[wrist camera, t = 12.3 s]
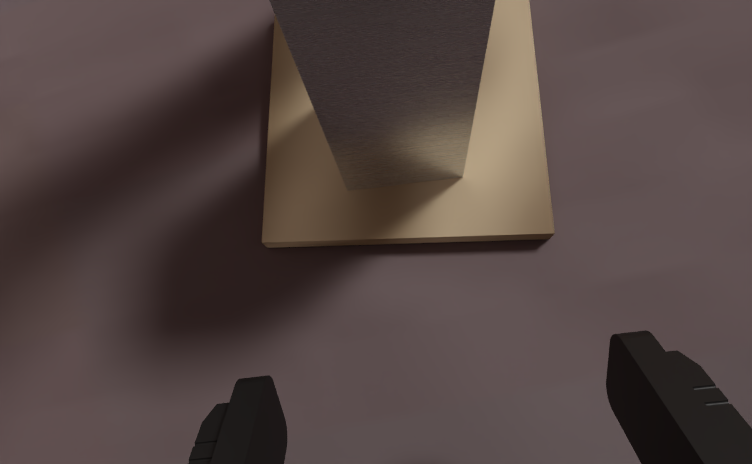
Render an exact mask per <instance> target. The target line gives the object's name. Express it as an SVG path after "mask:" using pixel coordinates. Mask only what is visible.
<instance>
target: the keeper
mask: <svg viewBox="0 0 752 464" xmlns="http://www.w3.org/2000/svg"><path fill="white" fill-rule="evenodd" d="M553 235H554V224H553V215H552V205H551V196H550V187H549V178H548V169H547V160H546V151H545V141H544V132H543V123H542V114H541V105H540V96H539V86H538V77H537V68H536V59H535V50H534V41H533V31H532V22H531V13H530V4H529V0H495V5H494V11H493V16H492V21H491V27H490V32H489V38H488V43H487V49H486V54H485V60H484V65H483V71H482V76H481V82H480V87H479V92H478V98H477V103H476V109H475V114H474V120H473V125H472V131H471V136H470V142H469V147H468V153H467V158H466V164H465V169H464V174H463V177H462V178H453V179H444V180H436V181H427V182H419V183H410V184H401V185H393V186H384V187H376V188H367V189H358V190H350V191H347V188H346V186H345V184H344V181H343V179H342V176H341V174H340V171H339V169H338V166H337V164H336V162H335V159H334V157H333V154H332V152H331V149H330V147H329V144H328V142H327V140H326V137H325V135H324V132H323V130H322V127H321V125H320V123H319V120H318V118H317V115H316V113H315V110H314V108H313V105H312V103H311V101H310V98H309V96H308V93H307V91H306V88H305V86H304V84H303V81H302V79H301V76H300V74H299V71H298V69H297V66H296V64H295V62H294V59H293V57H292V54H291V52H290V49H289V47H288V45H287V42H286V40H285V37H284V35H283V32H282V30H281V27H280V25H279V23H278V20H277V18H276V15H275V21H274V38H273V56H272V73H271V90H270V108H269V125H268V142H267V160H266V177H265V194H264V212H263V229H262V243H263V244H264V245H265V246H266V247H268V248H276V247H309V246H342V245H374V244H407V243H439V242H472V241H504V240H537V239H550V238H551V237H552V236H553Z"/></svg>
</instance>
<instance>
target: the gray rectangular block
mask: <svg viewBox="0 0 752 464" xmlns="http://www.w3.org/2000/svg"><path fill="white" fill-rule="evenodd" d="M269 1H270V3H271V6H272V8H273V10H274V13H275V15H276V18H277V20H278V23H279V25H280V27H281V30H282V32H283V35H284V37H285V40H286V42H287V45H288V47H289V49H290V52H291V54H292V57H293V59H294V62H295V64H296V66H297V69H298V71H299V74H300V76H301V79H302V81H303V84H304V86H305V88H306V91H307V93H308V96H309V98H310V101H311V103H312V105H313V108H314V110H315V113H316V115H317V118H318V120H319V123H320V125H321V127H322V130H323V132H324V135H325V137H326V140H327V142H328V144H329V147H330V149H331V152H332V154H333V157H334V159H335V162H336V164H337V166H338V169H339V171H340V174H341V176H342V179H343V181H344V184H345V186H346V188H347V191H350V190H358V189H367V188H376V187H384V186H393V185H401V184H410V183H419V182H427V181H436V180H444V179H453V178H462V177H463V174H464V169H465V164H466V158H467V153H468V147H469V142H470V136H471V131H472V125H473V120H474V114H475V109H476V103H477V98H478V92H479V87H480V82H481V76H482V71H483V65H484V60H485V54H486V49H487V43H488V38H489V32H490V27H491V21H492V16H493V11H494V5H495V0H269Z"/></svg>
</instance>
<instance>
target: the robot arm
mask: <svg viewBox="0 0 752 464" xmlns="http://www.w3.org/2000/svg"><path fill="white" fill-rule="evenodd" d="M606 389H607V395H608V399H609V403H610V405H611V408H612V410H613V412H614V414H615V416H616V418H617V419H618V421H619V423H620V425H621V427H622V429H623V431H624V432H625V434H626V436H627V438H628V440H629V442H630V443H631V445H632V447H633V449H634V451H635V453H636V455H637V456H638V458H639V460H640V462H641V464H752V429H751V427H750V426H749V425H748V424H747V422H746V421H745V420H744V419H743V418H742V416H741V415H740V414H739V413H738V411H737V410H736V409H735V408H734V407H733V405H732V404H729V403H728V399H727V398H726V397H725V396H724V394H723V393H722V392H721V391H720V389H719V388H716V386H715V383H714V382H713V381H712V380H711V378H710V377H709V376H708V375H707V374H706V372H705V371H704V370H703V369H702V368H701V366H700V365H698V364H697V363H695V362H694V361H692V360H691V359H689V358H688V357H686V356H685V355H683V354H682V353H680V352H679V351H669V352H665V350H664V349H663V348H662V346H661V345H660V344H659V342H658V341H657V340H656V339H655V337H654V336H653V335H652V334H651V333H650V332H649V331H638V332H629V333H621V334H614V335H612V337H611V339H610V347H609V358H608V369H607V379H606ZM286 448H287V426H286V421H285V417H284V414H283V411H282V408H281V404H280V401H279V398H278V395H277V392H276V388H275V385H274V382H273V379H272V378H271V376H260V377H251V378H243V379H238V380H237V382H236V384H235V387H234V390H233V393H232V396H231V399H230V402H229V403H222V404H217V405H216V406H215V407H214V408H213V410H212V411H211V412H210V413H209V415H208V416H207V417H206V418H205V420H204V421H203V422H202V424H201V427H200V430H199V433H198V435H197V438H196V441H195V447H193V449H192V452H191V455H190V457H189V464H284V460H285V454H286Z"/></svg>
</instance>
